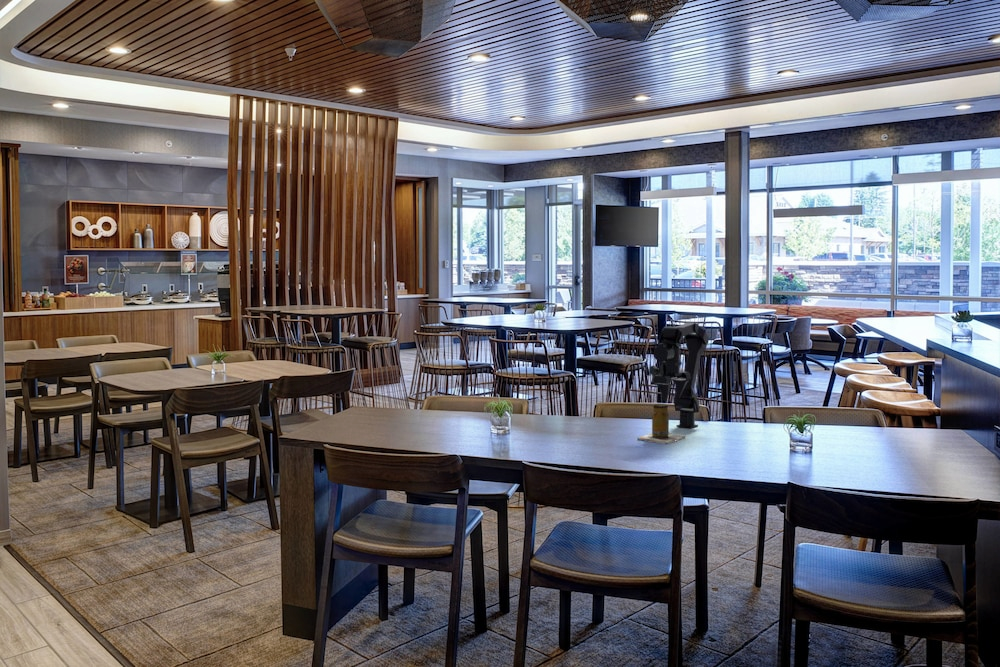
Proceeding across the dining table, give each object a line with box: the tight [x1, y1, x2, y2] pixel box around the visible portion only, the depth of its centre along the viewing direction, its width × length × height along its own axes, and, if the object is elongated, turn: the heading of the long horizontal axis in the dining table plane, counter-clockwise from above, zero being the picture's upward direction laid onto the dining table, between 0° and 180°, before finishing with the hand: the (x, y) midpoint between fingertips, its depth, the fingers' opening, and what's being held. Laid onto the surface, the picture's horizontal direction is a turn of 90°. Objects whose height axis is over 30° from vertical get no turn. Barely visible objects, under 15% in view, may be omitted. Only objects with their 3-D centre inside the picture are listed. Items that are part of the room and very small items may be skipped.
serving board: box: [636, 433, 686, 445], centre depth 297 cm, size 14×12×1 cm
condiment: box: [647, 403, 676, 440], centre depth 295 cm, size 7×8×12 cm
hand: (671, 399), depth 306 cm, fingers open, 9 cm apart
